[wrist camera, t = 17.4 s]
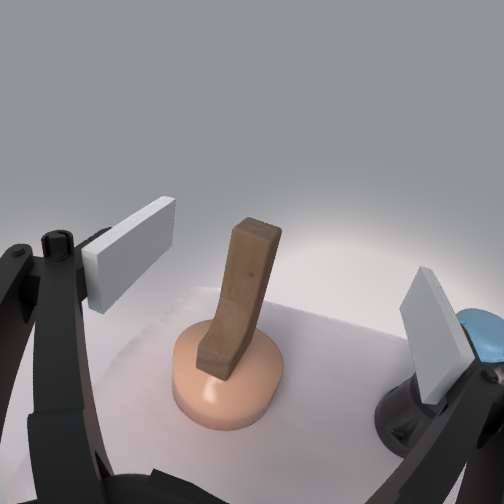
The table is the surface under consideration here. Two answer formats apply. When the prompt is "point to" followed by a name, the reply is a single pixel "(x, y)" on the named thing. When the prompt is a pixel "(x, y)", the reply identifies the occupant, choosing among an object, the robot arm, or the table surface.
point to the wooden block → (239, 297)
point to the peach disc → (225, 382)
